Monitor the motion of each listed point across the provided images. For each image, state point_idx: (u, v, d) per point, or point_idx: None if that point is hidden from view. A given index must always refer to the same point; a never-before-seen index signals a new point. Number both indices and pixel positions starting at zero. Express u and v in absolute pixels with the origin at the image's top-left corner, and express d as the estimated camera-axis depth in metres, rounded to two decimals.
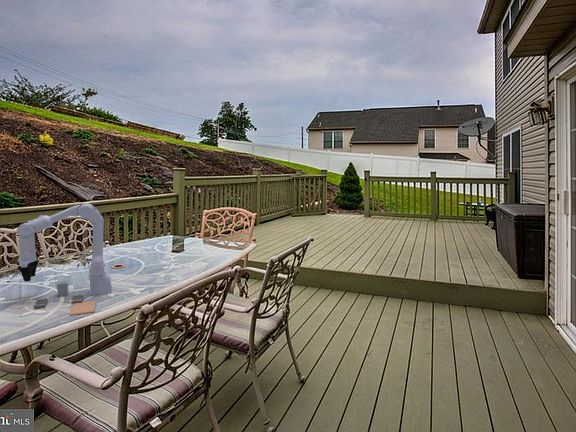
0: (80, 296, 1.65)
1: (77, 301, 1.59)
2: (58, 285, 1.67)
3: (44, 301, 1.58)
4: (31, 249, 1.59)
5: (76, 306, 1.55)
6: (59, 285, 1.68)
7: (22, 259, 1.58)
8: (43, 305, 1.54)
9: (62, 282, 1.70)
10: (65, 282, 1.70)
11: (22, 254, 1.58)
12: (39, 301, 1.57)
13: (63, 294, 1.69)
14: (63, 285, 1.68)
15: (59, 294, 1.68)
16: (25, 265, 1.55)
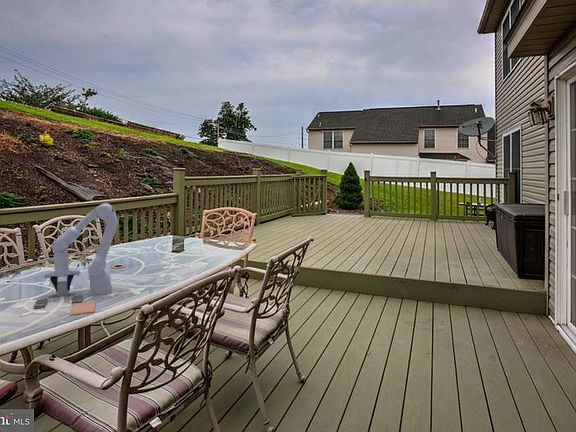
0: (80, 296, 1.65)
1: (77, 301, 1.59)
2: (58, 285, 1.67)
3: (44, 301, 1.58)
4: (64, 263, 1.67)
5: (76, 306, 1.55)
6: (59, 285, 1.68)
7: None
8: (43, 305, 1.54)
9: (62, 282, 1.70)
10: (65, 282, 1.70)
11: None
12: (39, 301, 1.57)
13: (63, 294, 1.69)
14: (63, 285, 1.68)
15: (59, 294, 1.68)
16: None
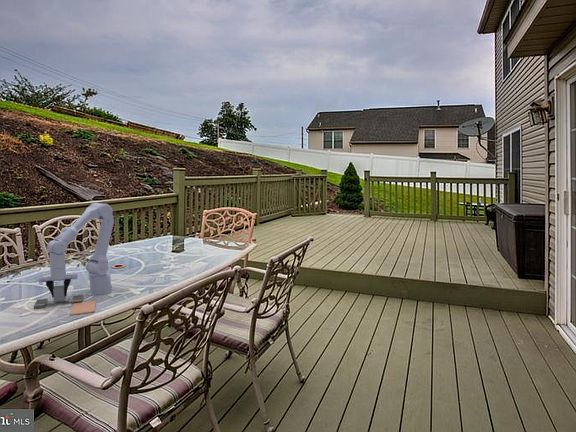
0: (80, 296, 1.65)
1: (77, 301, 1.59)
2: (54, 290, 1.57)
3: (44, 301, 1.58)
4: (64, 266, 1.59)
5: (76, 306, 1.55)
6: (55, 290, 1.58)
7: None
8: (43, 305, 1.54)
9: (58, 287, 1.60)
10: (62, 287, 1.60)
11: None
12: (39, 301, 1.57)
13: (60, 299, 1.59)
14: (60, 289, 1.58)
15: (55, 299, 1.58)
16: None
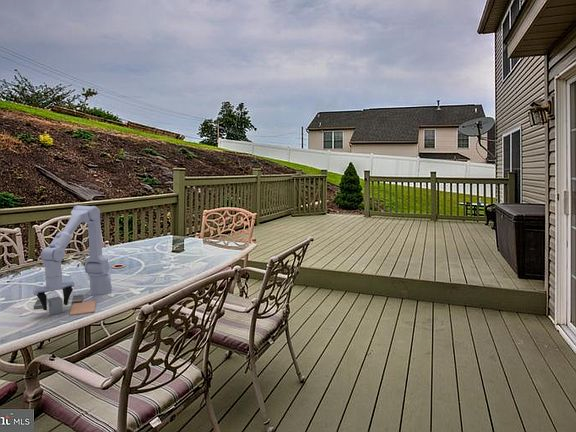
0: (80, 296, 1.65)
1: (77, 301, 1.59)
2: (53, 302, 1.46)
3: None
4: (61, 273, 1.49)
5: (76, 306, 1.55)
6: (54, 302, 1.47)
7: None
8: None
9: (55, 298, 1.49)
10: (58, 298, 1.49)
11: None
12: (39, 301, 1.57)
13: (58, 312, 1.48)
14: (58, 301, 1.48)
15: (54, 312, 1.47)
16: (34, 293, 1.42)
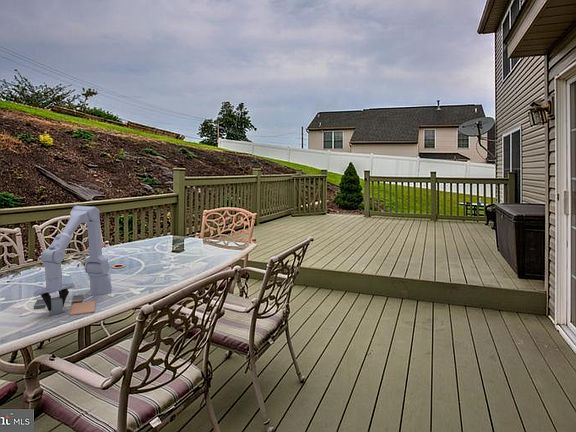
0: (80, 296, 1.65)
1: (77, 301, 1.59)
2: (53, 302, 1.46)
3: (44, 301, 1.58)
4: (61, 275, 1.49)
5: (76, 306, 1.55)
6: (54, 302, 1.47)
7: None
8: (43, 305, 1.54)
9: (54, 298, 1.49)
10: (58, 298, 1.49)
11: None
12: (39, 301, 1.57)
13: (58, 311, 1.48)
14: (58, 301, 1.48)
15: (54, 312, 1.47)
16: (34, 294, 1.42)
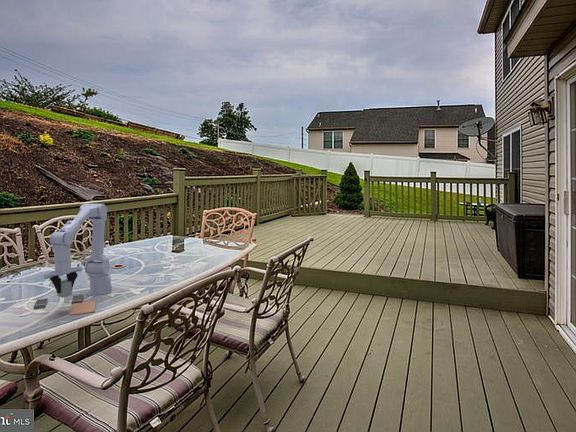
0: (80, 296, 1.65)
1: (77, 301, 1.59)
2: (62, 285, 1.47)
3: (44, 301, 1.58)
4: (70, 258, 1.50)
5: (76, 306, 1.55)
6: (63, 284, 1.48)
7: None
8: (43, 305, 1.54)
9: (63, 281, 1.50)
10: (67, 281, 1.50)
11: (55, 264, 1.47)
12: (39, 301, 1.57)
13: (68, 294, 1.50)
14: (68, 284, 1.49)
15: (63, 295, 1.48)
16: (45, 277, 1.43)
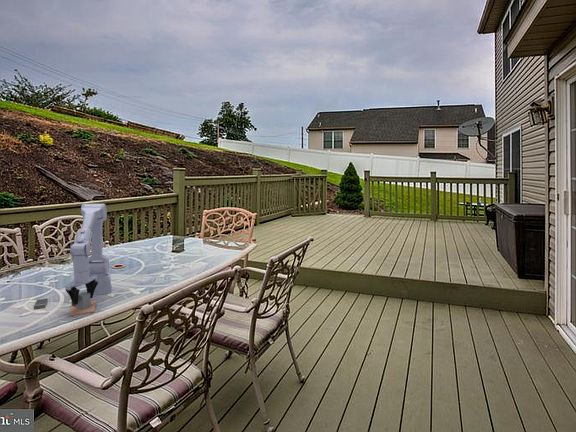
0: None
1: None
2: (83, 297, 1.52)
3: (44, 301, 1.58)
4: None
5: None
6: (84, 296, 1.52)
7: (74, 280, 1.51)
8: (43, 305, 1.54)
9: (82, 293, 1.53)
10: (85, 293, 1.54)
11: (74, 275, 1.51)
12: (39, 301, 1.57)
13: (87, 306, 1.54)
14: (87, 295, 1.54)
15: (84, 306, 1.52)
16: (68, 288, 1.46)
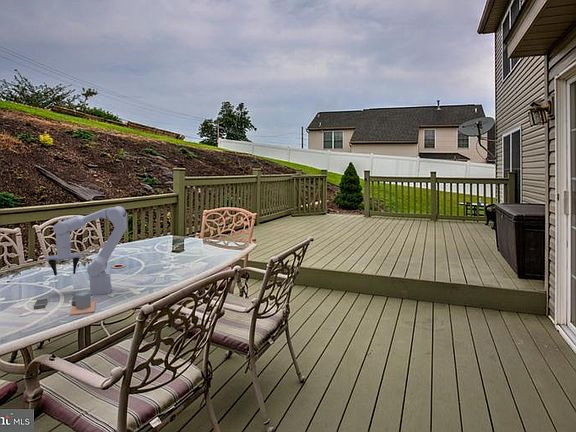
0: None
1: None
2: (83, 297, 1.52)
3: (44, 301, 1.58)
4: (65, 246, 1.68)
5: None
6: (84, 296, 1.52)
7: None
8: (43, 305, 1.54)
9: (82, 293, 1.53)
10: (85, 293, 1.54)
11: None
12: (39, 301, 1.57)
13: (87, 306, 1.54)
14: (87, 295, 1.54)
15: (84, 306, 1.52)
16: (46, 259, 1.67)
